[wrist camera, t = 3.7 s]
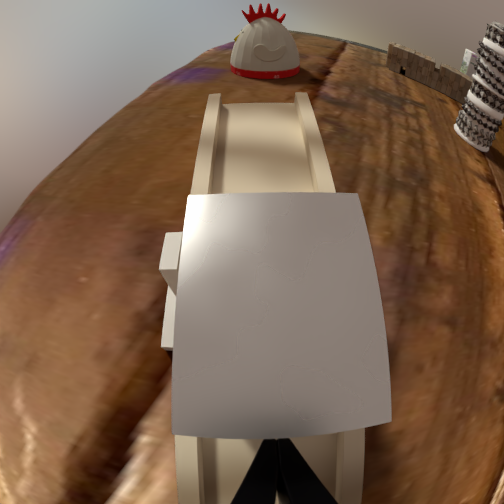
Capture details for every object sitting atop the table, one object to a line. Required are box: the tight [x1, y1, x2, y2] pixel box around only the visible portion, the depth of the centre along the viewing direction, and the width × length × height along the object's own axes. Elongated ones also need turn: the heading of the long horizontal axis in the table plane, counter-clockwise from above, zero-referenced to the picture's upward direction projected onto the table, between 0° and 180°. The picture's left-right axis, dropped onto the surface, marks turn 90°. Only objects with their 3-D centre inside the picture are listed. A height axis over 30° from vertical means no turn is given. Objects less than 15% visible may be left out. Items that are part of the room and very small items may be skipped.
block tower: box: [386, 42, 473, 104], centre depth 47 cm, size 8×8×29 cm
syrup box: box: [460, 49, 481, 79], centre depth 49 cm, size 6×6×14 cm
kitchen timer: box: [231, 4, 300, 79], centre depth 40 cm, size 14×14×15 cm
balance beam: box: [175, 92, 365, 504], centre depth 17 cm, size 30×8×6 cm, turn 1°
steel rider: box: [172, 192, 391, 439], centre depth 9 cm, size 6×4×8 cm
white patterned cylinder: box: [454, 22, 504, 152], centre depth 25 cm, size 9×9×25 cm
